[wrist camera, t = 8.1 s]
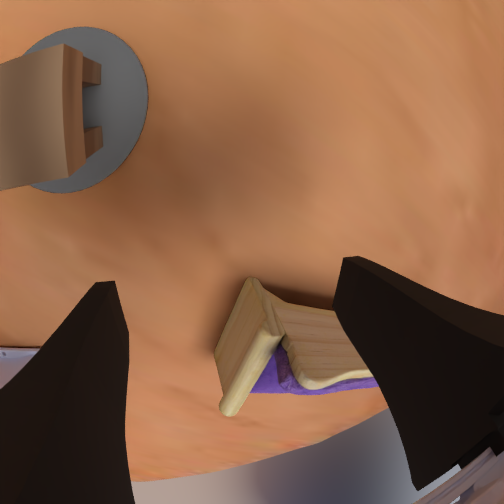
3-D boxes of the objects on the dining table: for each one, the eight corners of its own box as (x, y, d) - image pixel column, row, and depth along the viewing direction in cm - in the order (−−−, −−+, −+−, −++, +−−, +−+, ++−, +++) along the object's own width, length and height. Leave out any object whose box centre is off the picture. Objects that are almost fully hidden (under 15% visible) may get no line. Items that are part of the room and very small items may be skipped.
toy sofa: (204, 352, 25) (227, 458, 16) (239, 270, 22) (286, 385, 13) (371, 360, 33) (413, 422, 24) (411, 304, 30) (466, 365, 21)
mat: (11, 200, 14) (7, 203, 14) (1, 53, 9) (-4, 52, 9) (151, 180, 17) (150, 183, 16) (151, 17, 12) (150, 14, 11)
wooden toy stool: (30, 161, 13) (-28, 197, 8) (26, 80, 11) (-38, 81, 5) (104, 148, 14) (68, 177, 9) (103, 62, 12) (63, 43, 6)
